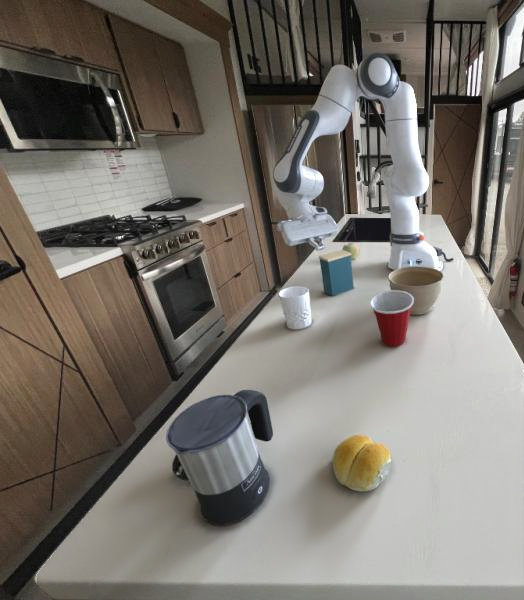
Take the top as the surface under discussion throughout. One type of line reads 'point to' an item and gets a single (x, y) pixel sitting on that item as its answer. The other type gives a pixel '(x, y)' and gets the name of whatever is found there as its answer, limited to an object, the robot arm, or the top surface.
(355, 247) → the fruit
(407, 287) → the planter bowl
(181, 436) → the milk frother
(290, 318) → the white cup
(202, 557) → the top surface
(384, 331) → the plastic cup
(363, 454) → the bread roll
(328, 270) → the teal and cream block
